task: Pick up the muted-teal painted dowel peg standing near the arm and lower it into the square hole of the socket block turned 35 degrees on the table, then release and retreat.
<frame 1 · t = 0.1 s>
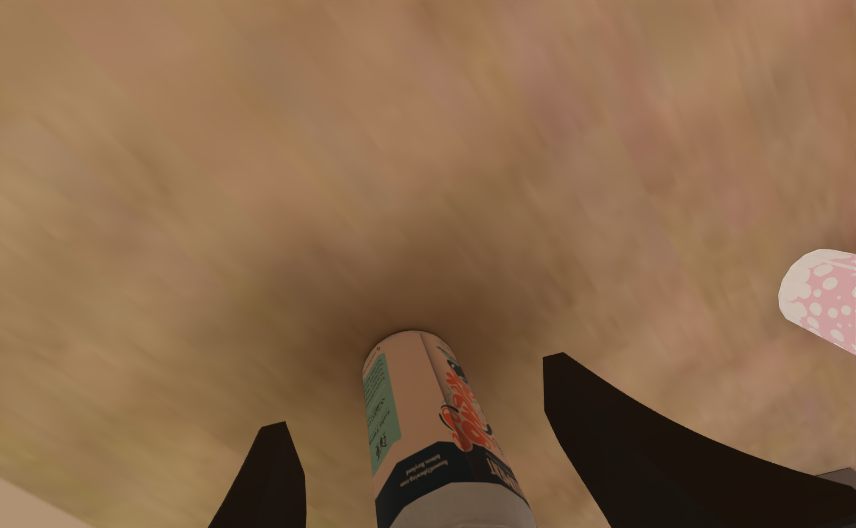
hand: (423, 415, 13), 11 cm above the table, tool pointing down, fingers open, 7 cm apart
socket: (790, 527, 33), on the table
beer can: (408, 367, 25), on the table
beverage cup: (810, 286, 28), on the table
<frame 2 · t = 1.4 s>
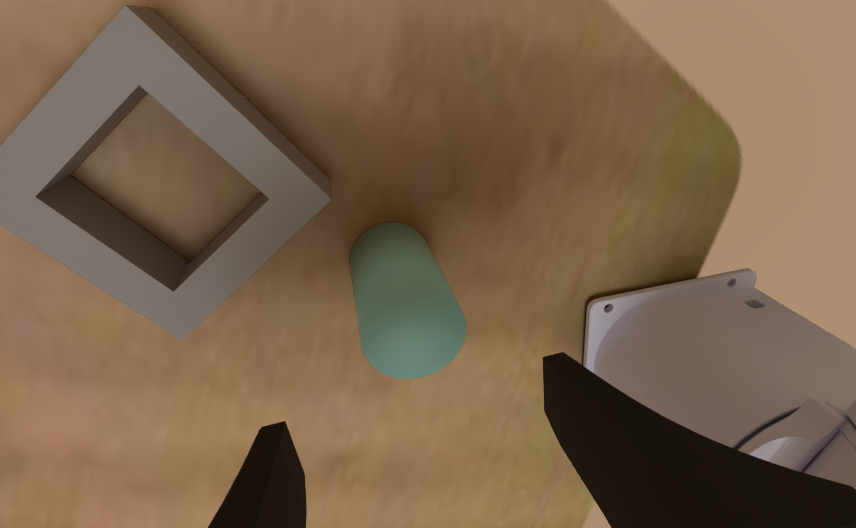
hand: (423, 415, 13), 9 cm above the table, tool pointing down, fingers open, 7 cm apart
socket: (176, 177, 18), on the table
peg: (390, 260, 22), on the table
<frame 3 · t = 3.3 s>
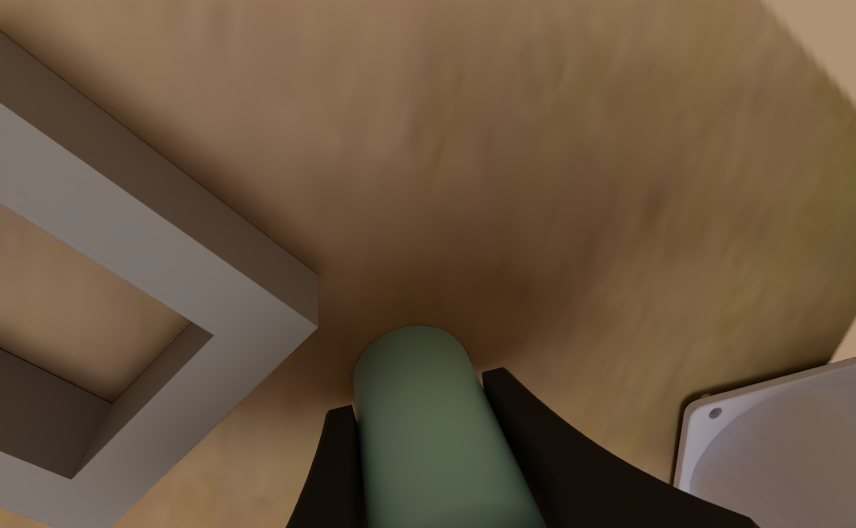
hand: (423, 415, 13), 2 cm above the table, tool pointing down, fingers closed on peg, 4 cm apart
socket: (76, 289, 12), on the table
peg: (412, 375, 15), on the table, touching gripper
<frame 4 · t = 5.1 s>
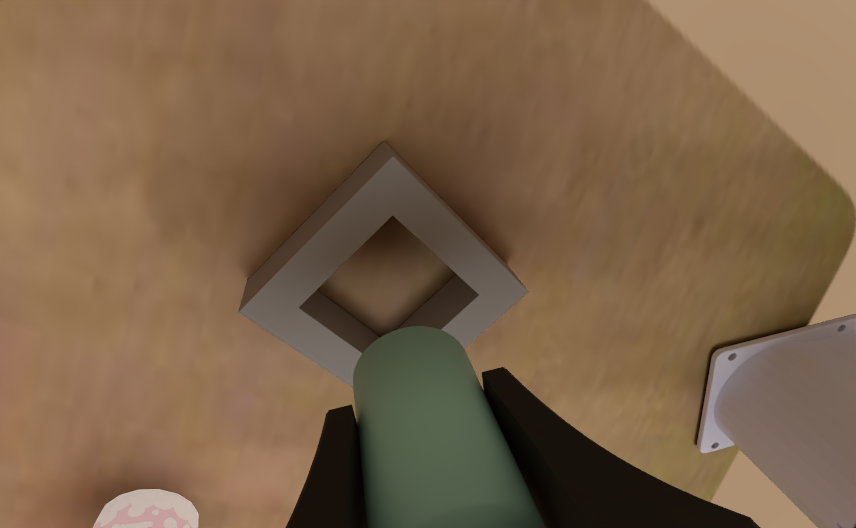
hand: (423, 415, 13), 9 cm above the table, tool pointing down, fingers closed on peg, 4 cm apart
socket: (384, 272, 21), on the table
peg: (412, 375, 15), point 7 cm above the table, touching gripper
beverage cup: (151, 517, 25), on the table
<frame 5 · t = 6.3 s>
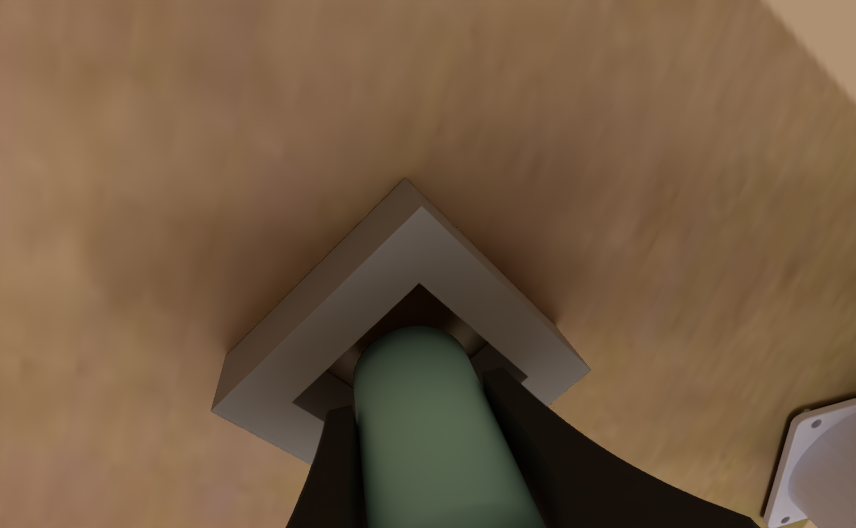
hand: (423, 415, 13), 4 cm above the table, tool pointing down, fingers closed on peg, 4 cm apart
socket: (402, 340, 16), on the table
peg: (412, 375, 15), point 2 cm above the table, touching gripper
when the fingers open (4 cm above the table, at t = 6.9 s): peg drops 2 cm, resting in socket.
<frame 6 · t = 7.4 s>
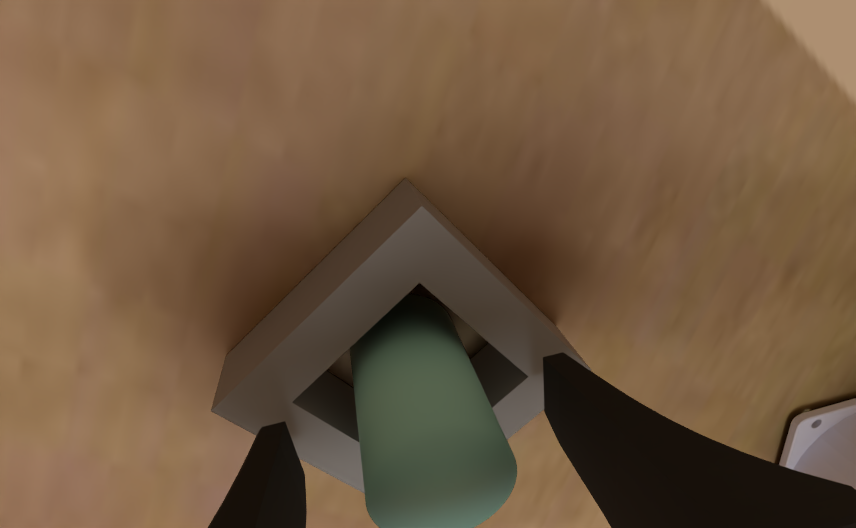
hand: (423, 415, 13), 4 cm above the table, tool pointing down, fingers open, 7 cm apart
socket: (402, 340, 17), on the table
peg: (402, 340, 17), resting in socket
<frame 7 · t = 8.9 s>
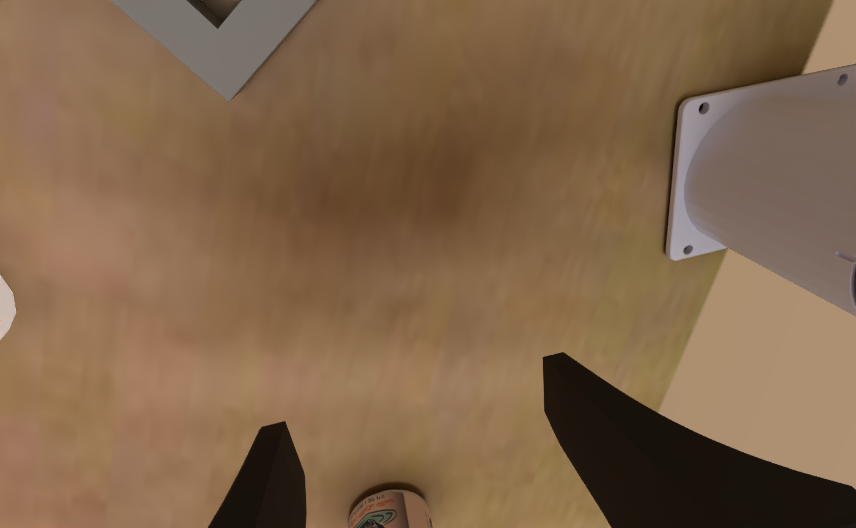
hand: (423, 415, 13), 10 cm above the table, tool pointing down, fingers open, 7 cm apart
beer can: (387, 508, 29), on the table
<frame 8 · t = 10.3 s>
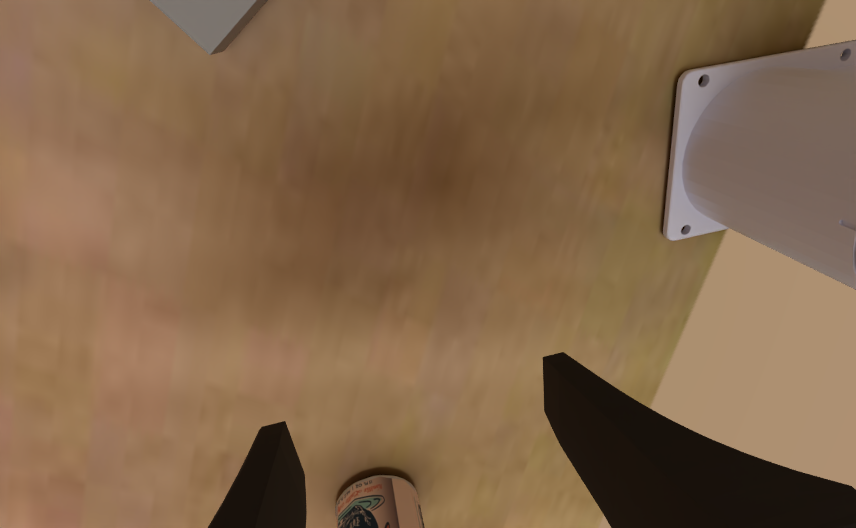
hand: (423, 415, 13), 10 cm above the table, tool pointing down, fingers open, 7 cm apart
beer can: (375, 494, 29), on the table
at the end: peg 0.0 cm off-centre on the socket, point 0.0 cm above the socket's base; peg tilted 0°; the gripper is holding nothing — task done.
